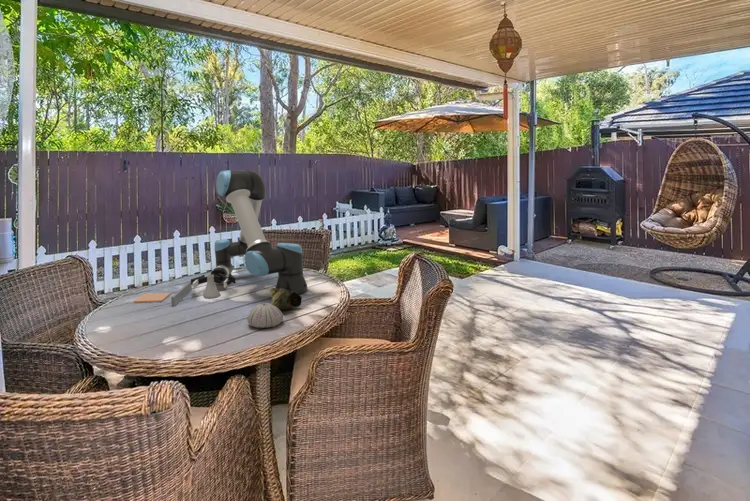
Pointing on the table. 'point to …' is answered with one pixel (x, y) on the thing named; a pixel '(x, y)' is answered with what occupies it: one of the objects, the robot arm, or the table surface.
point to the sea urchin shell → (265, 316)
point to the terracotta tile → (152, 297)
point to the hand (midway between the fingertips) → (209, 285)
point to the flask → (211, 288)
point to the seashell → (285, 299)
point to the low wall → (181, 294)
